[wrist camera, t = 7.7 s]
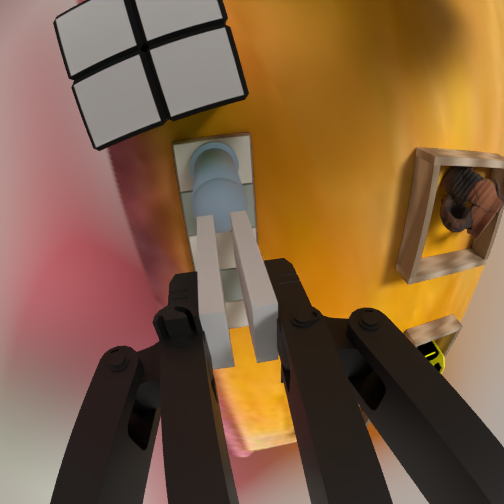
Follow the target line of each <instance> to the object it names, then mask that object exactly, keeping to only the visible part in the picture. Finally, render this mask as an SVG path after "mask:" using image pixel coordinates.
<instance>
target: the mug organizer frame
mask: <svg viewBox="0 0 504 504" xmlns="http://www.w3.org/2000/svg"><path fill="white" fill-rule="evenodd" d="M440 165H443V166H472V167H491V173H490V178H489V179H490V180H491V181H492V182H493V184H494V185H495V186H496V184H495V182H494V178H495V179H497V180H498V183H499V185H500V189H501V194H502V195H504V157H502V156H500V155H498V154H494V153H485V152H476V151H465V150H453V149H439V148H420V147H416V157H415V165H414V173H413V180H412V187H411V194H410V200H409V206H408V212H407V217H406V223H405V228H404V233H403V238H402V242H401V247H400V252H399V256H398V260H397V264H396V268H395V269H396V271H397V272H398V273H399V274H400V275H401V277H402V278H403V279H404V280H405V282H406V283H407V284H413V283H417V282H421V281H425V280H429V279H433V278H437V277H441V276H445V275H449V274H452V273H456V272H460V271H463V270H467V269H471V268H474V267H478V266H481V265H485V264H486V262H487V260H488V257H489V254H490V251H491V248H492V245H493V243H494V239H495V236H496V233H497V230H498V227H499V224H500V220H501V217H502V213H503V209H504V205H503V207H502V208H501V209H500V211H499V212H498V214H497V215H496V216H495V218H494V219H493V221H492V222H491V223H490V224H489V226H488V227H487V229H486V230H485V231H484V232H482V234H481V236H480V237H478V238H477V239H475V238H474V241H473V244H472V247H471V248H469V249H465V250H460V251H455V252H451V253H446V254H441V255H436V256H431V257H426V258H421V257H422V253H423V249H424V245H425V241H426V237H427V233H428V229H429V224H430V220H431V215H432V211H433V206H434V201H435V195H436V190H437V184H438V178H439V172H440Z"/></svg>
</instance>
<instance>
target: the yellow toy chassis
mask: <svg viewBox="0 0 504 504" xmlns="http://www.w3.org/2000/svg"><path fill="white" fill-rule="evenodd" d="M417 349H418V350H419V351H420V352H421V353H422V354H423V355H424V356H425V357H426V358H427V359H428V360H429V362H430V363H431V364H432V365H433V366H434V367H435V368H436V369H437V370H438V371H439V372H440V374H442V372H443V370H444V368H445V363H444V355H443V354H442V352H441V351H440V349H439V348H438V346H437V345H436V343H435V342H434V340H433V341H430V342H427V343H425V344H422V345H419V346H418V347H417ZM439 363H440V364H439ZM440 365H441V366H440ZM440 369H441V371H440Z"/></svg>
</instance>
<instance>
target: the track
mask: <svg viewBox="0 0 504 504" xmlns="http://www.w3.org/2000/svg"><path fill="white" fill-rule="evenodd" d="M210 141H219V142H223V143H225V144H227V145H228V146H230V147H231V148H232V149H233V150H234V152H235V154H236V156H237V158H238V162H239V170H238V175H239V177H240V180H241V183H242V186H243V188H244V191H245V194H246V197H247V202H248V208H247V216H248V218H249V221H250V224H251V227H252V230H253V233H254V236H255V238H256V241H257V244H258V235H257V219H256V203H255V188H254V172H253V157H252V142H251V134H250V132H242V133H232V134H223V135H215V136H207V137H199V138H192V139H185V140H179V141H173V142H172V144H171V145H172V152H173V158H174V165H175V171H176V177H177V183H178V189H179V195H180V200H181V206H182V212H183V217H184V222H185V228H186V233H187V238H188V243H189V248H190V253H191V258H192V263H193V268H194V272H195V271H197V221H196V219H195V217H194V215H193V212H192V192H193V178H192V176H191V173H190V161H191V157H192V154H193V153H194V151H195V150H196V149H197V148H198V147H199V146H200V145H202V144H204V143H206V142H210ZM215 234H216V241H217V248H218V255H219V262H220V270H221V277H222V285H223V292H224V299H225V306H226V313H227V320H228V327H229V329H231V328H238V327H245V326H249V324H248V320H247V315H246V310H245V306H244V301H243V296H242V292H241V287H240V282H239V277H238V273H237V268H236V263H235V256H234V248H233V239H232V230H231V231H228V232H224V233H215Z"/></svg>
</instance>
